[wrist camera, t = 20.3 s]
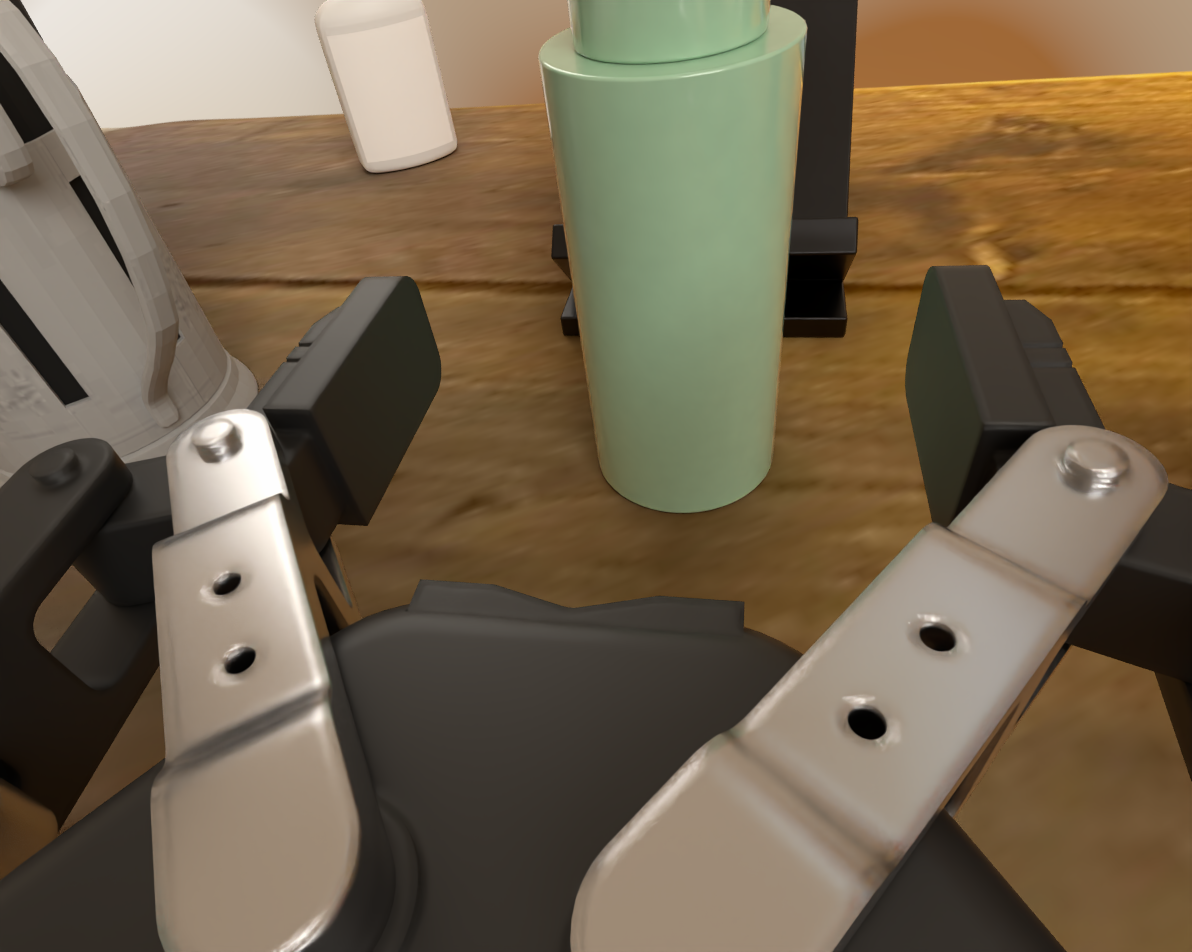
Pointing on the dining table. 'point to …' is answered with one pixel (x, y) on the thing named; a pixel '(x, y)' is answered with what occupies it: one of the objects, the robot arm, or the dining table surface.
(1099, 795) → the dining table surface
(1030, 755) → the dining table surface
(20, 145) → the glass holder
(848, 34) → the cradle
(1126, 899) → the dining table surface
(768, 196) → the bottle
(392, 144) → the eye dropper bottle
